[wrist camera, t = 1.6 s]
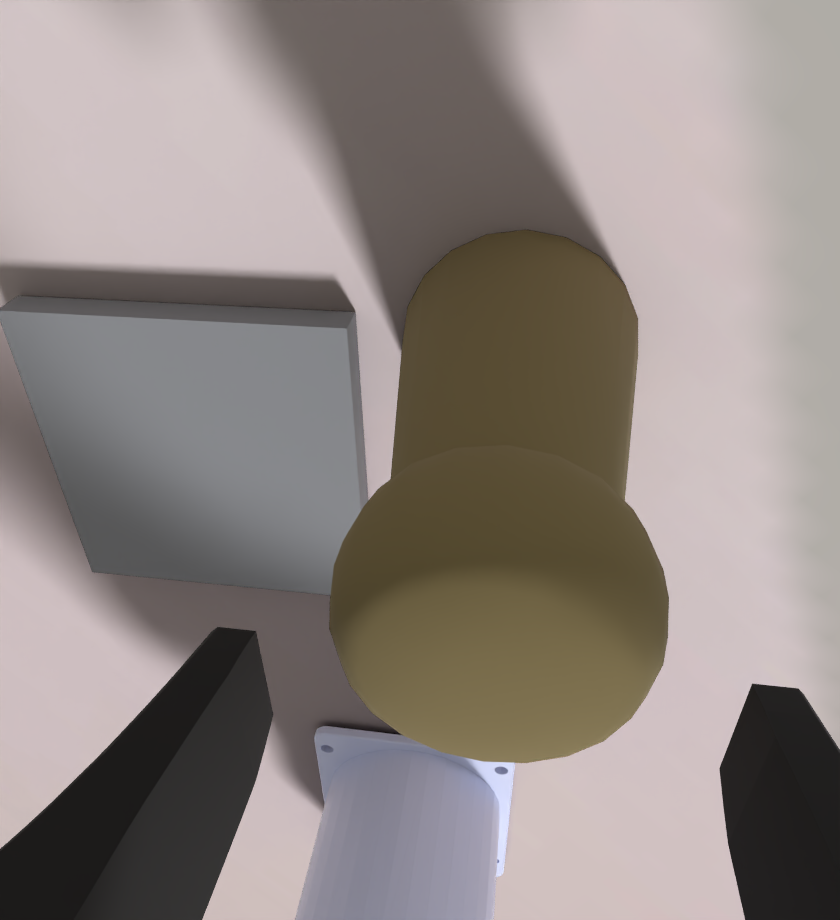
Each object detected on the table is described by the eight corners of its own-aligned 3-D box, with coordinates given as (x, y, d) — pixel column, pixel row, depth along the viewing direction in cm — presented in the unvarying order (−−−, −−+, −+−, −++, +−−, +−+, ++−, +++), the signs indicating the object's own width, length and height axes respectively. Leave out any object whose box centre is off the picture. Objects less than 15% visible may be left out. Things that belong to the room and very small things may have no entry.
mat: (373, 577, 25) (367, 599, 24) (106, 552, 26) (92, 572, 25) (355, 312, 19) (346, 328, 18) (18, 295, 20) (-4, 310, 20)
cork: (359, 359, 20) (203, 694, 11) (501, 175, 17) (441, 440, 8) (531, 480, 21) (515, 862, 13) (692, 331, 18) (825, 703, 9)
